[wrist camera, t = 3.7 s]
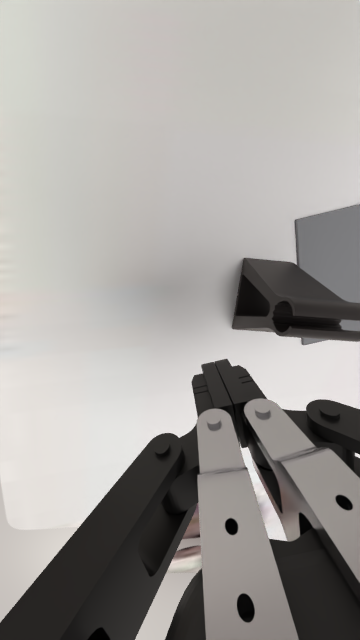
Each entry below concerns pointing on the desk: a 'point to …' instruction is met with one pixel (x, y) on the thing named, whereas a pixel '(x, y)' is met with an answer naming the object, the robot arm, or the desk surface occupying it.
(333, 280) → the mat
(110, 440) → the desk surface
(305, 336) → the phone stand
